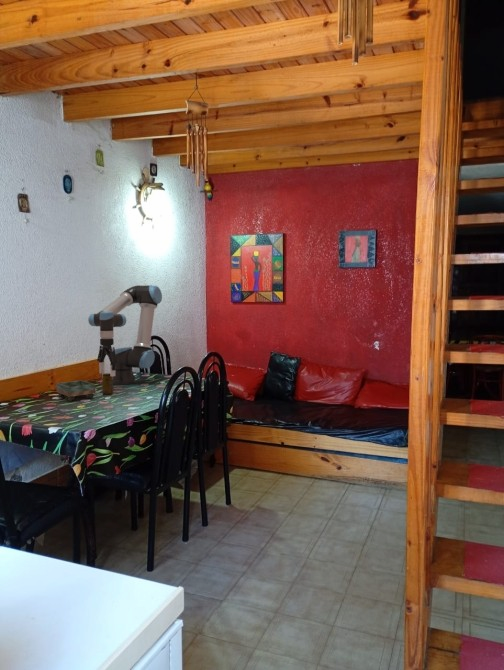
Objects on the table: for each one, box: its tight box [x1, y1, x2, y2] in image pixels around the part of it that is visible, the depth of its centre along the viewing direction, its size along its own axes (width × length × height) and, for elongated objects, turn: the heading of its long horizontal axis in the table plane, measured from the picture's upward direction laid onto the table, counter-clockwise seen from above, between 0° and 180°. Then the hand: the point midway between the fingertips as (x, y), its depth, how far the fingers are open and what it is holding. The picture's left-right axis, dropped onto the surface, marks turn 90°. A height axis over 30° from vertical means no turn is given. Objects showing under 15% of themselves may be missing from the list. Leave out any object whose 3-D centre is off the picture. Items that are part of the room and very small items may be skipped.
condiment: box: [100, 372, 118, 397], centre depth 307 cm, size 7×8×12 cm
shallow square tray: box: [56, 379, 96, 402], centre depth 298 cm, size 15×17×8 cm
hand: (107, 374), depth 306 cm, fingers open, 13 cm apart
